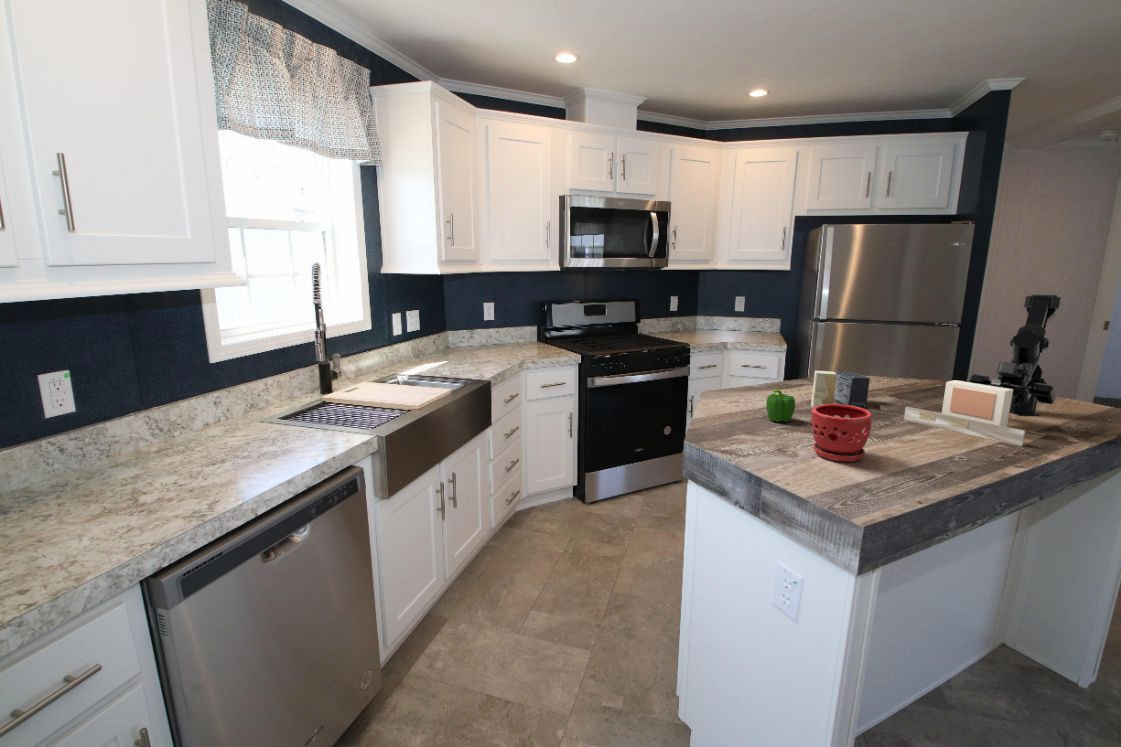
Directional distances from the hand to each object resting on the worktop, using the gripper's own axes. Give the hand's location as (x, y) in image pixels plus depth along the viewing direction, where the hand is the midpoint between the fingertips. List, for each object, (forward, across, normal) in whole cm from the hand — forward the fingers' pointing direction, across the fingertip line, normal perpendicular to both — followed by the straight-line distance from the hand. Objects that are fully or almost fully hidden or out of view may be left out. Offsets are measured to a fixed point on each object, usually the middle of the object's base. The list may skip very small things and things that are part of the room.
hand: (998, 411), depth 149 cm
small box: (+7, -40, +2) cm, 41 cm away
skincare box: (+16, -43, -7) cm, 46 cm away
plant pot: (+43, -14, -35) cm, 58 cm away
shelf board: (+8, -4, +1) cm, 9 cm away
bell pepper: (+33, -41, -25) cm, 58 cm away
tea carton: (+7, -4, 0) cm, 8 cm away
